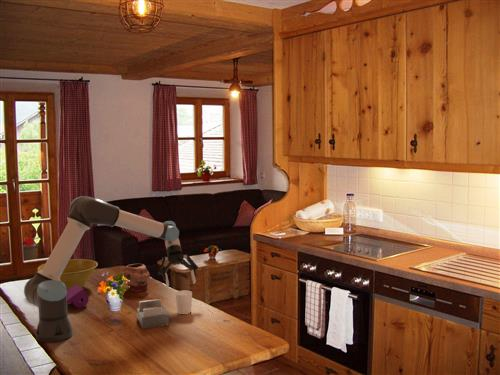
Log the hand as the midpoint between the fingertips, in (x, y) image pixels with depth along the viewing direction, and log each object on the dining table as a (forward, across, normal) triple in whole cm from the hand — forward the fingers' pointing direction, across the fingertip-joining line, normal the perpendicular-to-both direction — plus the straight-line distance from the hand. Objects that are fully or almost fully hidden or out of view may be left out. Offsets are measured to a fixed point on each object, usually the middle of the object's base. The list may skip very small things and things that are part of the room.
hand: (181, 284), depth 267 cm
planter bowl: (-31, +51, -49) cm, 77 cm away
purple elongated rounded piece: (-7, +54, -25) cm, 60 cm away
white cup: (+14, +1, -3) cm, 15 cm away
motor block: (+19, +18, +2) cm, 26 cm away
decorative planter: (-20, +16, -37) cm, 45 cm away
